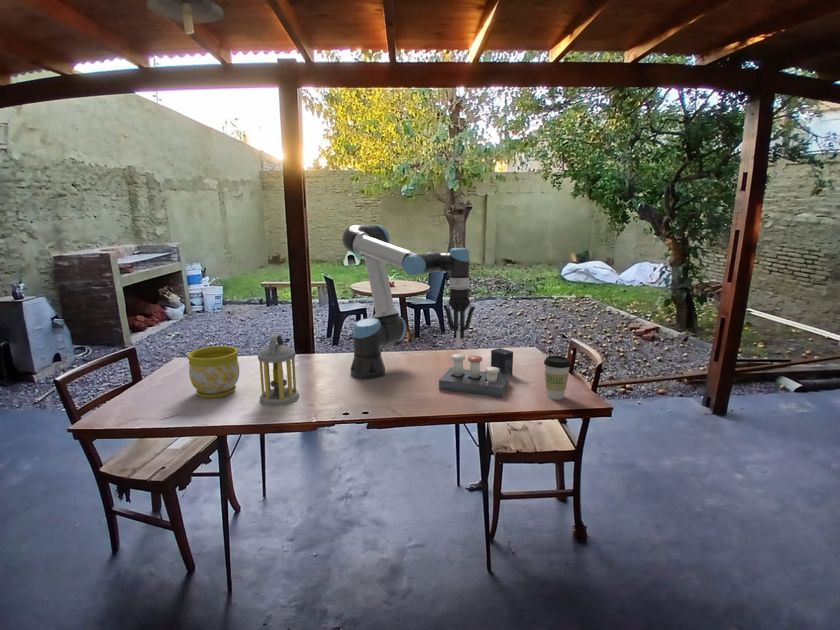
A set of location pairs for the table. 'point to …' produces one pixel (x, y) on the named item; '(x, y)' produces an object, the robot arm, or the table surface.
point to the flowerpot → (214, 370)
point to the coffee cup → (556, 376)
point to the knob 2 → (492, 373)
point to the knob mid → (475, 366)
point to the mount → (474, 383)
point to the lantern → (277, 373)
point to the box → (502, 360)
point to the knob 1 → (458, 364)
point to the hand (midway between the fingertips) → (459, 346)
